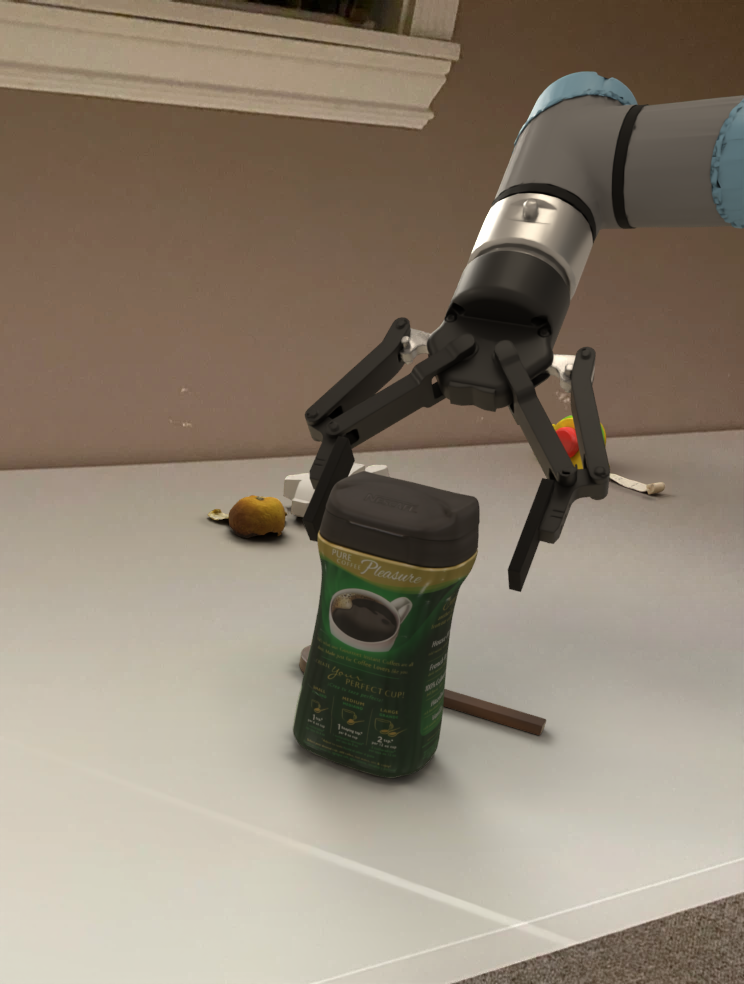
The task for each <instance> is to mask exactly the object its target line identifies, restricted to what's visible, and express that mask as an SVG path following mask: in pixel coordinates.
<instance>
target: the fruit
mask: <svg viewBox="0 0 744 984" xmlns="http://www.w3.org/2000/svg"><path fill="white" fill-rule="evenodd" d="M207 516H208V517H209V518H211V519H212V520H214V521H219V520H223V519H228V525H229V529H231V530H232V531H233V533H234V534H235V535H236V536H238V537H240V538H241V539H242V538H244V539H249V538H253V537H256V536H265V535H266V534H268V533H274V534H275V533H277V537H280V536H281V535H282V534H283V531H284V529H285V527H286V517H287V516H288V512H286V510H285V508H284V505H283V503H282V502H281V500H280V499H278V498H277V497H273V496H264V495H262V496H259V495H254V494H252V495H249V496H244V497H242V498H240V499H239V500H238V501H236V503H235V504H234V505H233V506H232V507H231V509H230V510H229V512H228V513H223V511H222V510H221V508H214V509H213V510H211V511H209V512H208V513H207Z"/></svg>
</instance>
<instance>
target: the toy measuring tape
mask: <svg viewBox="0 0 744 984" xmlns="http://www.w3.org/2000/svg"><path fill="white" fill-rule="evenodd" d="M600 424H601V429H602V434H603V438H604V443H605V448H606V449H607V447H606V446H607V433H606V429H605V427H604V425H603V424H602V422H600ZM552 425H553V427H554V429H555V431H556V433H557V435H558V437H559V439H560V440H561V442H562V444H563V446H564V448H565V450H566V452H567V454H568V456H569V457H570V459H571V461H572V463H573V465H574V467H575V464H577V467H578V469H583V466H582V461H581V456H580V451H579V446H578V441H577V436H576V431H575V426H574V422H573V417H572V414H571V415H567V416H566V417H564V418H562V419H560V420H558V422H557V423H556V424H555V423H552ZM609 467H610V468H611V465H610V464H609ZM610 480H612V481H614V482H615V483H617V484H618V485H619V486H620V485H621V486H623V487H625V488H627V489H631V490H634V491H637V492H640V493H646V492H647V495H655V494H659V493H662V492H664V491H665V489H666V484H665V483H664V482H663V481H658V482H653V483H648V484H646V483H642V482H640V481H637V480H633V479H630V478H626V477H623V476H621V475H619V474H616V473H610Z"/></svg>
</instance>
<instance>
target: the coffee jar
mask: <svg viewBox="0 0 744 984" xmlns="http://www.w3.org/2000/svg"><path fill="white" fill-rule="evenodd" d="M480 511H481V510H480V503H479V500H478V498H477V497H476V496H474V495H468V494H463V493H458V492H453V491H451V490H446V489H441V488H437V487H434V486H429V485H425V484H422V483H418V482H413V481H409V480H405V479H399V478H396V477H391V476H390V477H387V476H382V475H378V474H374V473H370V472H367V471H362V472H359V473H356V474H353V475H351V476H348V477H346V478H344V479H342V480H340V481H339V482H337V483H336V484H335V485H334V487H333V488H332V490H331V493H330V495H329V498H328V501H327V503H326V509H325V512H324V515H323V518H322V522H321V526H320V530H319V533H318V540H317V541H318V542H317V550H318V551H317V552H318V555H319V560H320V561H319V562H320V567H321V579H320V581H321V582H320V592H319V599H318V608H317V613H316V617H315V624H314V629H313V632H312V638H311V642H310V645H311V647H310V651H309V655H308V660H307V664H306V668H305V672H303V676H302V680H301V685H300V689H299V693H298V696H297V697H298V698H297V701H296V707H295V712H294V717H293V725H292V733H293V737H294V738H295V740H296V742H297V743H298V744H299V745H300V747H302V749H305V750H306V751H308V752H309V753H312V754H314V755H316V756H318V757H321V758H323V759H325V760H327V761H331V762H333V763H336V764H339V765H342V766H343V767H344V766H345V767H347V768H350V769H353V770H356V771H359V772H363V773H365V774H369V775H373V776H377V777H380V778H386V779H395V778H399V777H404V776H405V777H406V776H409V775H412V774H414V773H416V772H419V771H420V770H422V769H423V768H424V767H425V766H426V765H427V764H428V763H429V762H430V761H431V760H432V758H433V757H434V755H435V754H436V752H437V749H438V747H439V741H440V735H441V729H442V721H443V714H444V706H443V702H444V690H445V689H446V677H447V665H448V664H447V663H448V655H449V647H450V638H451V628H452V623H453V617H454V612H455V608H456V607H455V606H456V603H457V600H458V595H459V592H460V589H461V586H462V585H463V583H464V582H465V581H466V579H467V578H468V576H469V575H470V573H471V572H472V570H473V567H474V565H475V563H476V561H477V557H478V554H479V553H478V552H479V549H478V548H479V537H480V534H479V531H480V529H479V528H480V522H481V521H480V520H481V519H480V515H481V514H480Z"/></svg>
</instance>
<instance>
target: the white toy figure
mask: <svg viewBox="0 0 744 984" xmlns="http://www.w3.org/2000/svg"><path fill="white" fill-rule="evenodd" d="M362 471H367V472H370V473H374V474H378V475H382V476H387V477H391V475H390V472H389V468H388V465H386V464H373V465H369V466H367V467H366V465H365V464H362V463H358V462H354V464H353V466H352V469H351V471H350V473H349V476H351V475H353V474H356V473H359V472H362ZM314 491H315V489H313V487H312V484H311V481H310V478H309V472H304V473H296V474H290V475H286V477H285V478H284V481H283V495H282V496H283V497H284V498H286V499H288V500H289V501H291V509H290V514H291V515H294V517H299V518H302V519H303V517H304V514H305V512H306V510H307V507H308V505H309V503H310V500H311V498H312V496H313V493H314Z"/></svg>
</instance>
